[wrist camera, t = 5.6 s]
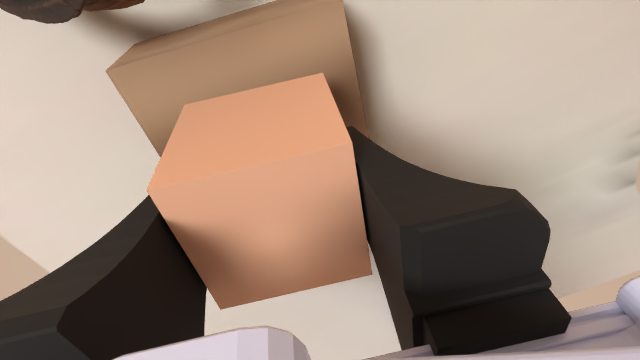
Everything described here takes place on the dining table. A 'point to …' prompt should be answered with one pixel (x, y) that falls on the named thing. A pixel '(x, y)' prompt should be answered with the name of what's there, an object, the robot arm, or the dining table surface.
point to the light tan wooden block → (239, 62)
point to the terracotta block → (264, 192)
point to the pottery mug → (60, 8)
